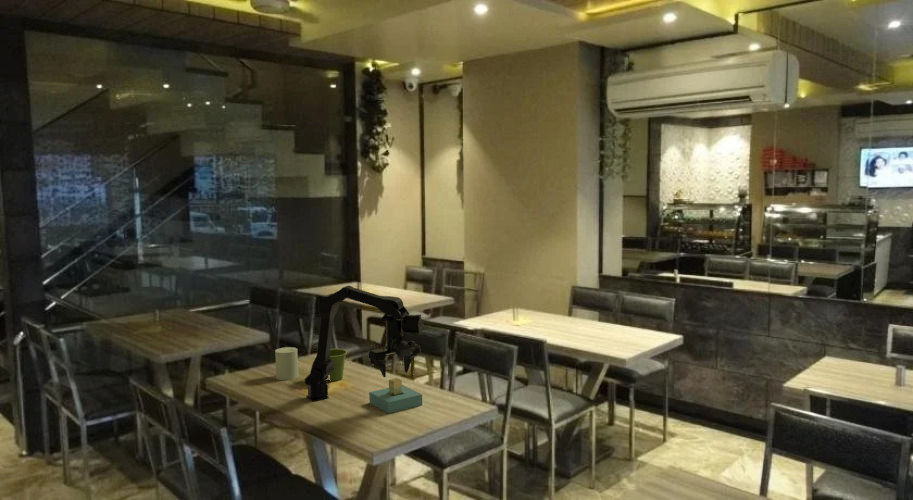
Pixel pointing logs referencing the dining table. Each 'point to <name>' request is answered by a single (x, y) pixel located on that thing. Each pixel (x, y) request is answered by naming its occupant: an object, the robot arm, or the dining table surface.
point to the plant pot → (337, 363)
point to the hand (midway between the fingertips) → (395, 374)
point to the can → (286, 363)
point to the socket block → (395, 399)
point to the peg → (395, 387)
